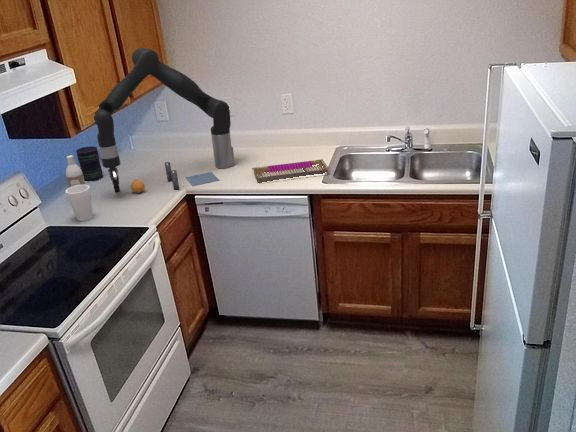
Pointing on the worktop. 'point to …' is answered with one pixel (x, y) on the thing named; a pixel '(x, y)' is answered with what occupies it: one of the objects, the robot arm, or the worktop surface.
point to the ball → (137, 186)
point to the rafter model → (289, 167)
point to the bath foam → (74, 173)
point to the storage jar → (89, 163)
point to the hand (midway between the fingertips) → (117, 191)
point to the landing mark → (202, 178)
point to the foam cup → (80, 201)
